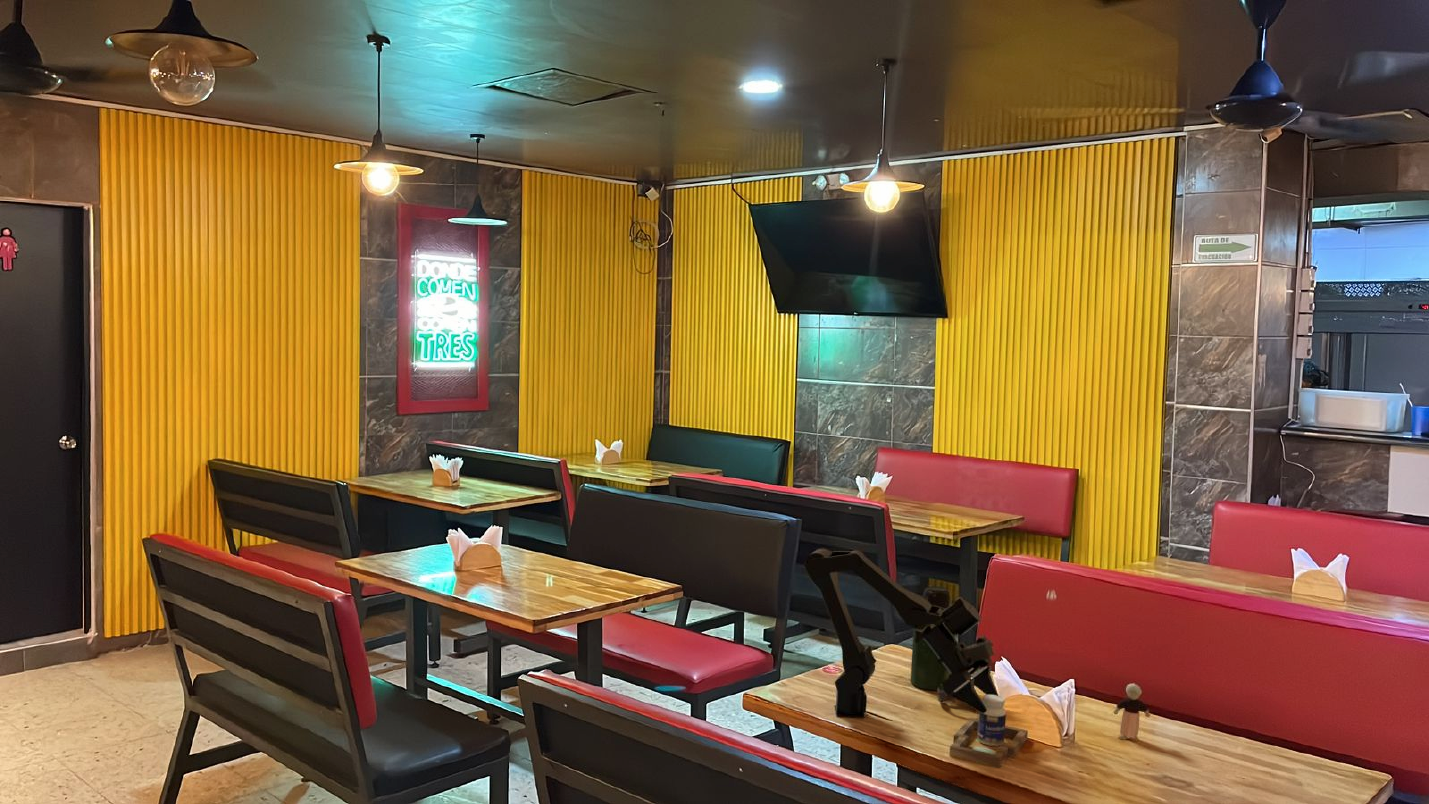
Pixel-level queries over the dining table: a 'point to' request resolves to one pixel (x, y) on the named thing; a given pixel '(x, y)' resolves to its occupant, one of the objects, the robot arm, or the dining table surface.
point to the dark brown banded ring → (944, 698)
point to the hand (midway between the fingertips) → (991, 706)
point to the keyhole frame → (986, 754)
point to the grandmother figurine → (1131, 713)
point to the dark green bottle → (923, 657)
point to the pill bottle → (992, 721)
